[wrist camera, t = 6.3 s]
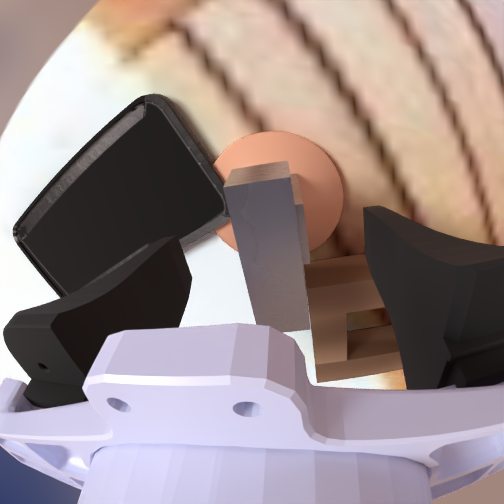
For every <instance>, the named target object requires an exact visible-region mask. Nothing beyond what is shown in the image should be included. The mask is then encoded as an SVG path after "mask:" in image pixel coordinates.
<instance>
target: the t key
mask: <svg viewBox="0 0 504 504" xmlns="http://www.w3.org/2000/svg"><path fill="white" fill-rule="evenodd" d="M223 190H224V194H225V198H226V202H227V206H228V211H229V215H230V219H231V223H232V227H233V231H234V235H235V240H236V244H237V248H238V252H239V256H240V260H241V264H242V268H243V272H244V276H245V280H246V284H247V289H248V293H249V297H250V301H251V305H252V309H253V313H254V317H255V321H256V325H263V326H270V327H272V328H274V329H276V330H278V331H280V332H291V331H300V330H309V329H310V322H309V311H308V301H307V292H306V284H305V275H304V267H303V264H310V255H309V246H308V238H307V230H306V222H305V214H304V207H303V201H302V196H301V191H300V186H299V181H298V176H297V173H294V174H290V169H289V163H288V160H287V161H280V162H273V163H267V164H260V165H254V166H248V167H242V168H236V169H232V170H231V172H230V174H229V176H228V178H227V180H226V182H225V184H224V186H223Z"/></svg>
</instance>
